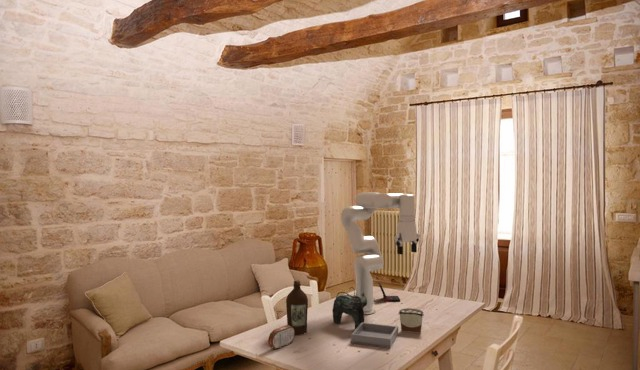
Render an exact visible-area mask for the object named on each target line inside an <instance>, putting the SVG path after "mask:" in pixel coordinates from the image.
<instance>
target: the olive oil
mask: <svg viewBox="0 0 640 370" xmlns="http://www.w3.org/2000/svg"><path fill="white" fill-rule="evenodd" d="M285 304H286V323H287V324H286V325H289V326H291V327H293V328H294V330H295V335H294V336H302V335H304V333H305V334H306V333H308V331H307V330H308V307H309V306H308V305H309V299H308V295H307V294H306V293H305V292H304V291H303V290H302V287H301V280H299V279H296V280H295V279H294V280H293V289H292V290H291V291H290V292H289V293H288V294H287V296H286V300H285ZM301 334H302V335H301Z"/></svg>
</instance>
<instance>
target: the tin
mask: <svg viewBox="0 0 640 370" xmlns="http://www.w3.org/2000/svg"><path fill="white" fill-rule="evenodd" d="M295 336H296V335H295V330H294V328H293V327H291V326H289V325H287V324H286V325H283V326H281V327H280V326H279V327H277V328H274V329H273V330H272V331H271V332H270V333H269V335H268V338H267V339H268V340H267V345H268V346H269V347H270V348H272V349H275V350H278V349H281V348H283V347H285V345H286V346H288V345H290V344H292V342H293V341H294V339H295ZM289 343H290V344H289ZM287 344H288V345H287ZM282 346H283V347H282ZM280 347H281V348H280ZM277 348H278V349H277Z"/></svg>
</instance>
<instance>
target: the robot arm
mask: <svg viewBox="0 0 640 370" xmlns="http://www.w3.org/2000/svg"><path fill="white" fill-rule="evenodd" d="M415 199H416V197H415V195H414V194H412V193H411V194H410V193H407V194H406V193H400V192H399V193H398V192H397V193H395V192H393V193H392V192H391V193H380V192H375V191H369V192H368V191H367V192H365V191H364V192H360V193H358V194H357V195H356V196H355V199H354V200H355V203H356V205H349V206H345V207H344V208H343V209H342V210H341V212H340V214H341V215H340V221H341V224H342V226H343V228H344V230H345V232H346V236H347V238H348V241H349V245H350V247H351V250H352V252H353V253H354V254H357V255H358V254H360V255H358V256H357V257H355V259H354V260H353V261H354V262H353V267H354V271H355V294H356V293H358V295H362V294H363V293H364V294H365V297H366V298H367V305H366V306H365V307H363V311H364V315H372V314H376V312H377V311H376V308H375V307H374V280H373V276H372V274H371V272H373V271H374V272H375V271H379V270H381V269H383V266H384V258H383V255H382V252H381V249H380V246H379V243H378V241H377V239H376V238H375V237H374V236H372V235H364V234H363V232H362V228H361V227H360V226H359V225H358V223H357V222H356V221H366V220H369V219H370V218H371V216H373V214H374V212H375V211H376V210H377V209H399V211H398V212H399V215H398V216H399V221H398V222H397V226H396V227H397V228H396V235H395V236H394V237H393V241H394V244H395V245H396V247H397V251H396V252H397V255H403V254H404V246H403V244H405V243H409V242H411V243H410V247H411V248H410V252H411V253H417V252H418V251H417V248H418V247H417V245H418V244H419V243H418V242H419V241H420V237H421V235H420V234H419V233H417V224H416V221H415V220H416V211H415V210H416V209H415V207H416V206H415V205H416V204H415V203H416V202H415V201H416V200H415Z"/></svg>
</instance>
